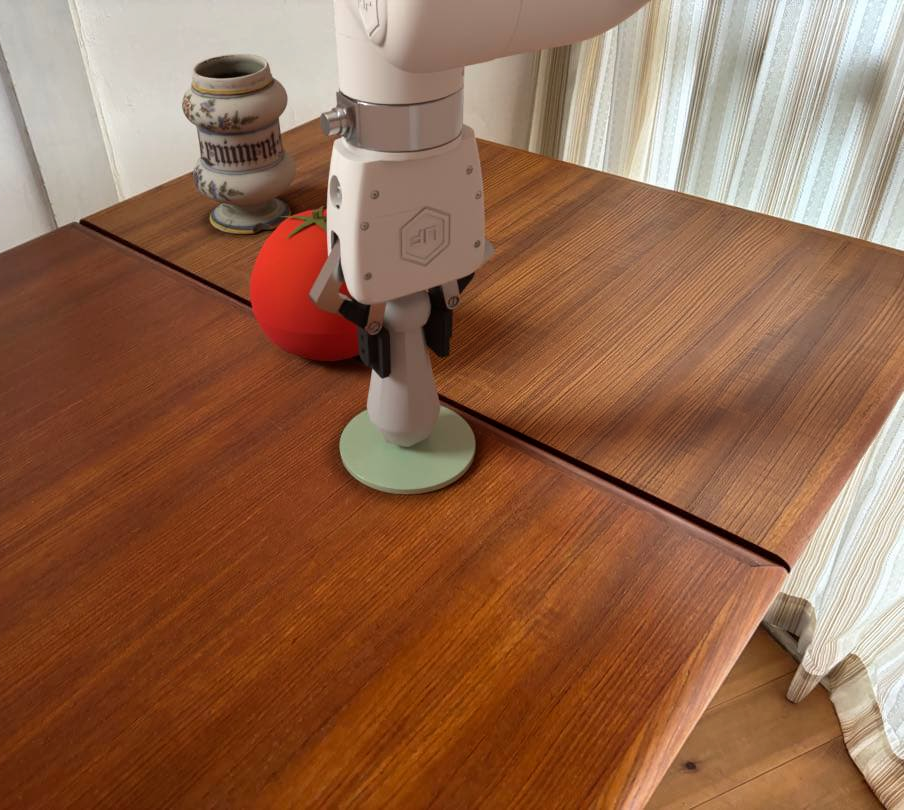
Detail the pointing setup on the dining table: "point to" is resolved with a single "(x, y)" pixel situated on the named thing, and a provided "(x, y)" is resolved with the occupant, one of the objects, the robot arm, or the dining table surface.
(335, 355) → the tomato
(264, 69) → the apothecary jar
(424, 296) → the salt shaker
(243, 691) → the dining table surface
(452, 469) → the coaster
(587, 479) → the dining table surface
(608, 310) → the dining table surface
